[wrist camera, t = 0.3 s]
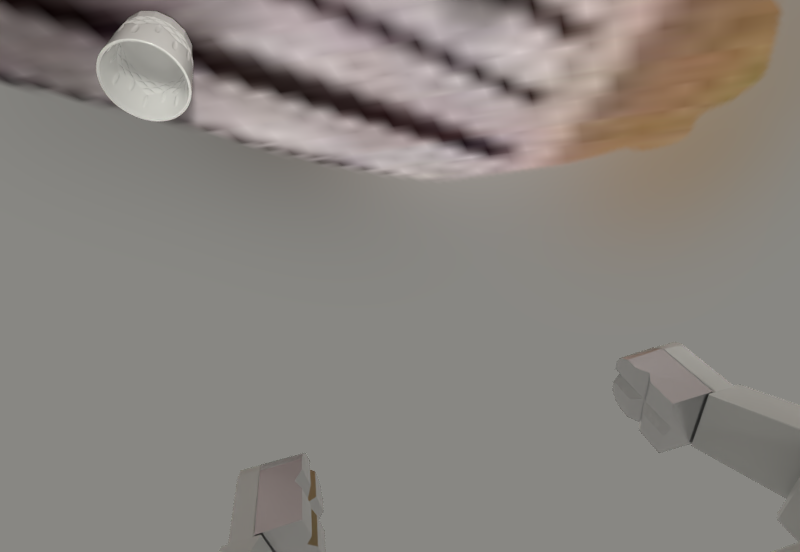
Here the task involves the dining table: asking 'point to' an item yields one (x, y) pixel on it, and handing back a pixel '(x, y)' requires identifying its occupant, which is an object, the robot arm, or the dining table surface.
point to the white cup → (148, 67)
